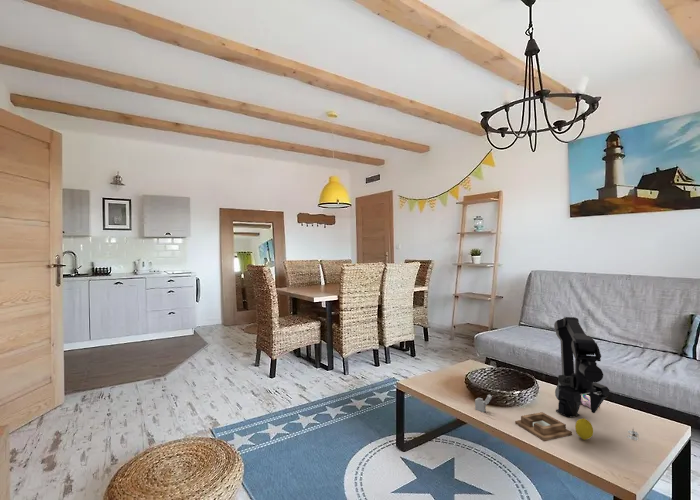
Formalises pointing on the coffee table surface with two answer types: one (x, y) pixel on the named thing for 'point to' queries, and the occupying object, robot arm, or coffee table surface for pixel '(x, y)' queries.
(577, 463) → the coffee table surface
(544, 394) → the coffee table surface
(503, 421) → the coffee table surface
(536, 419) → the tray
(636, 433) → the car cutout
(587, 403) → the unicorn toy
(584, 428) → the lemon
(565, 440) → the coffee table surface
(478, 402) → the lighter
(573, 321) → the robot arm
